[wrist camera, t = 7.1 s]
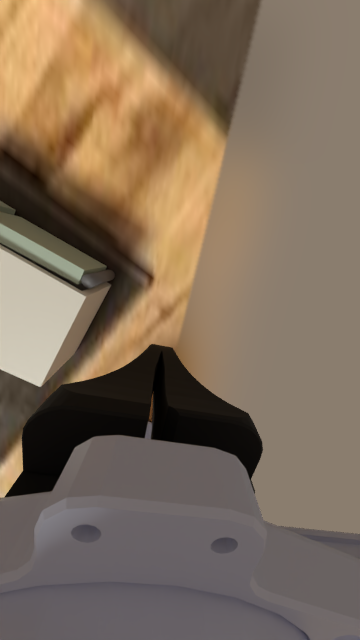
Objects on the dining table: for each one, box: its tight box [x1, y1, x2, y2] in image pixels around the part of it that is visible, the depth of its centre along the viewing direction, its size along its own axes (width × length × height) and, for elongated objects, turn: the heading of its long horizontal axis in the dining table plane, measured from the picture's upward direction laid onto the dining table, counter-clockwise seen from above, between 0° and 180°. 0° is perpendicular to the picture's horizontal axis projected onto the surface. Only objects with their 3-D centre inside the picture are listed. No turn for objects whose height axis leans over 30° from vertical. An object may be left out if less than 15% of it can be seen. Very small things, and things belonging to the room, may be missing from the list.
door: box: [0, 212, 115, 288], centre depth 16 cm, size 2×9×5 cm, turn 59°
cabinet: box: [0, 201, 111, 387], centre depth 16 cm, size 11×14×6 cm
